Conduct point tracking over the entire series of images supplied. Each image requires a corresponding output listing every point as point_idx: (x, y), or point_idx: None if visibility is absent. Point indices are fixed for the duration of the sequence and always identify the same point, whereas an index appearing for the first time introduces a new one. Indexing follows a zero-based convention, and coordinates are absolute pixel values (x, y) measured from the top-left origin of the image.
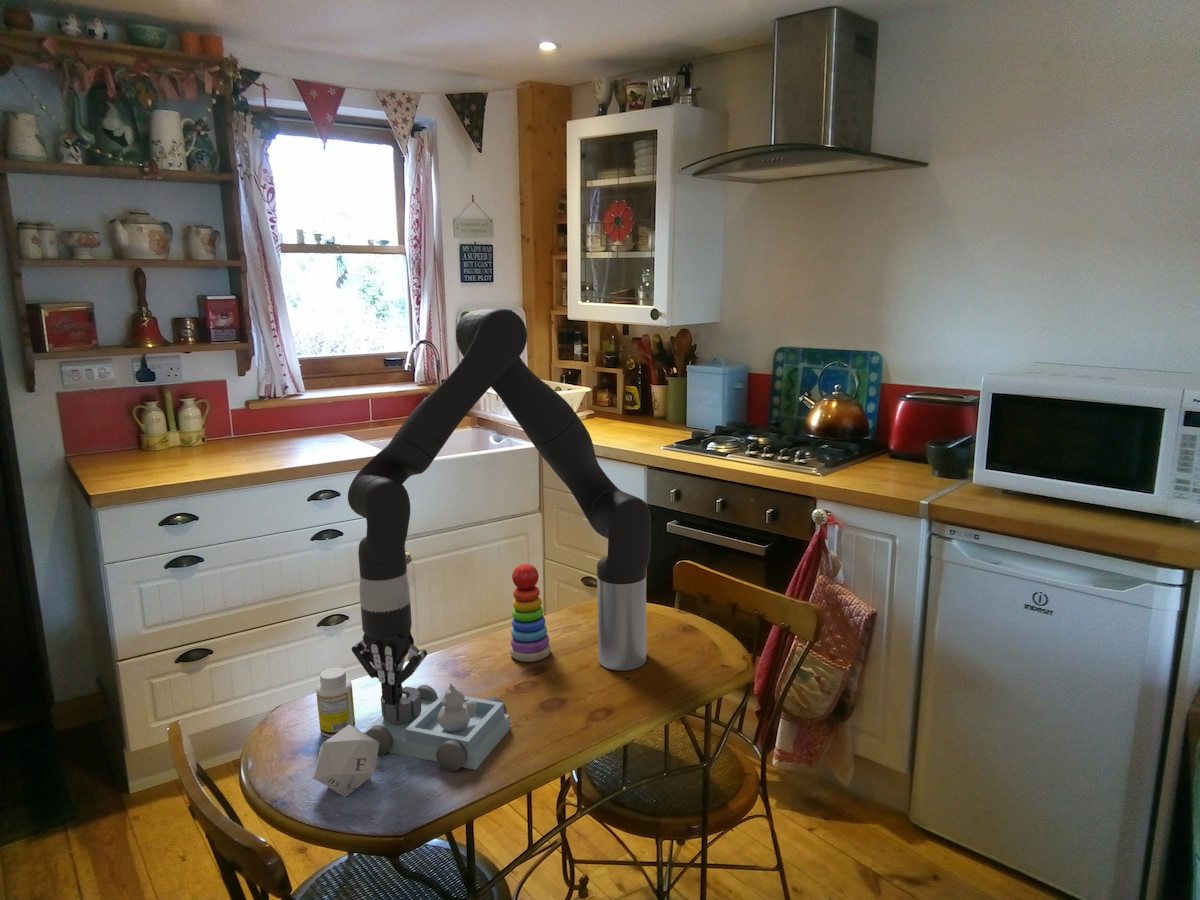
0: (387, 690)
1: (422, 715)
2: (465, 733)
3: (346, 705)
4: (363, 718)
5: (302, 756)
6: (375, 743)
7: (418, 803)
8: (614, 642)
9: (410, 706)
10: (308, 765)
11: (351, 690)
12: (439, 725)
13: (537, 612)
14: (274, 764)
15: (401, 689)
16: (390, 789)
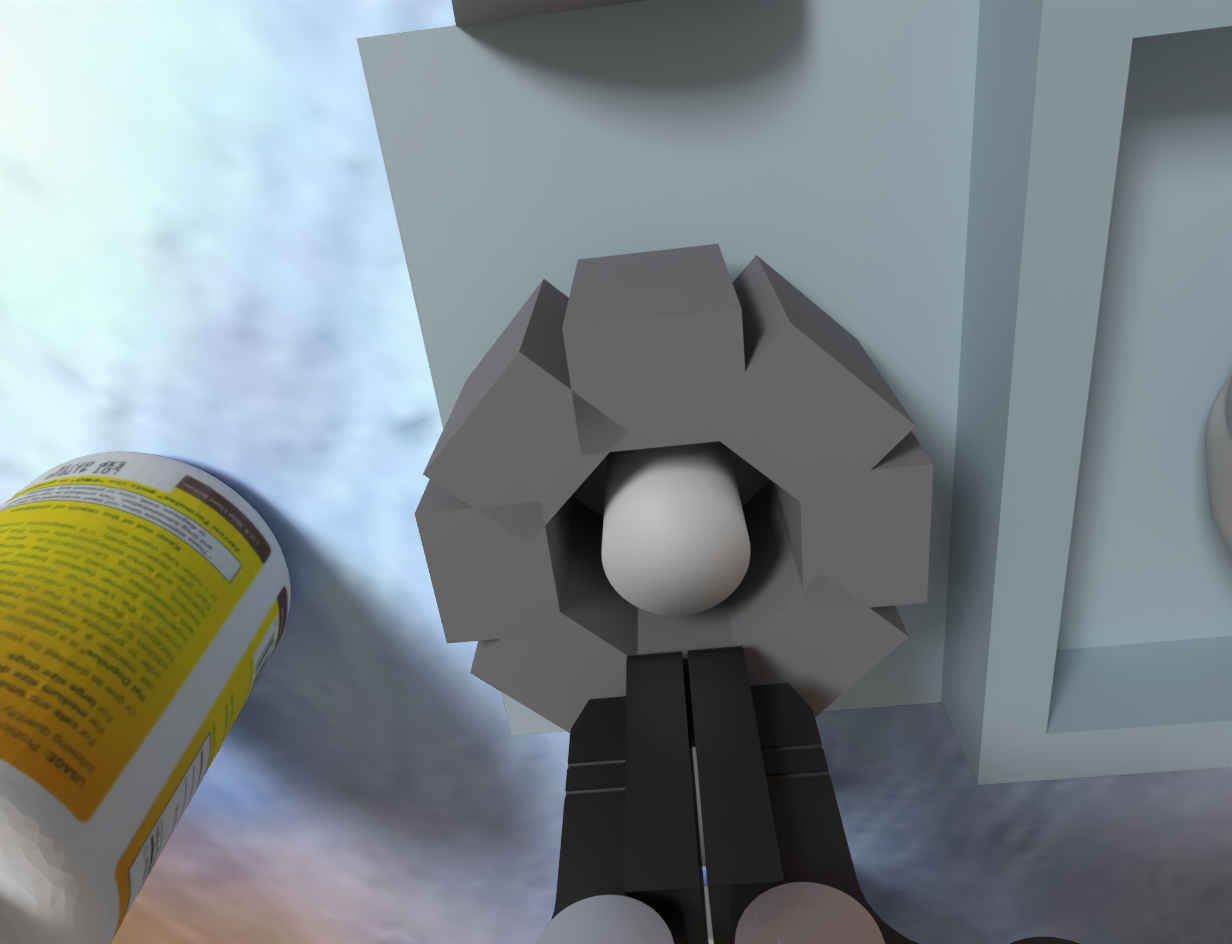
0: (708, 941)
1: (1027, 554)
2: None
3: (188, 766)
4: (180, 348)
5: (258, 844)
6: None
7: (1223, 908)
8: None
9: (890, 606)
10: (374, 885)
11: (80, 773)
12: (1133, 404)
13: None
14: (194, 935)
15: (828, 787)
16: (997, 880)
